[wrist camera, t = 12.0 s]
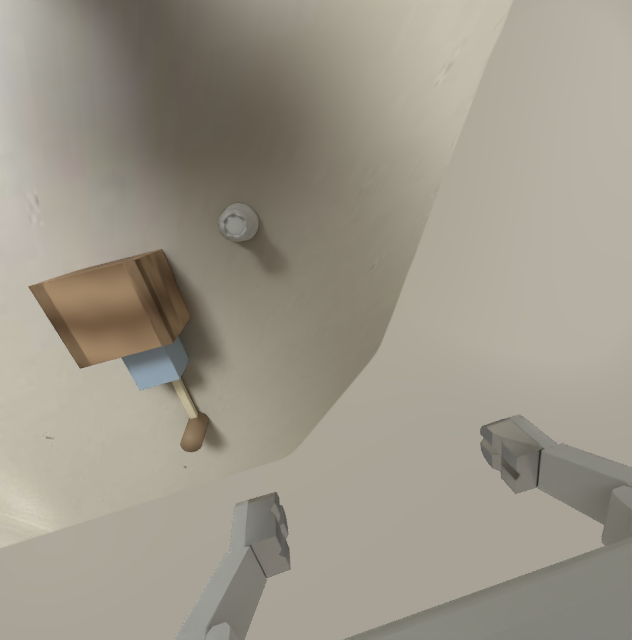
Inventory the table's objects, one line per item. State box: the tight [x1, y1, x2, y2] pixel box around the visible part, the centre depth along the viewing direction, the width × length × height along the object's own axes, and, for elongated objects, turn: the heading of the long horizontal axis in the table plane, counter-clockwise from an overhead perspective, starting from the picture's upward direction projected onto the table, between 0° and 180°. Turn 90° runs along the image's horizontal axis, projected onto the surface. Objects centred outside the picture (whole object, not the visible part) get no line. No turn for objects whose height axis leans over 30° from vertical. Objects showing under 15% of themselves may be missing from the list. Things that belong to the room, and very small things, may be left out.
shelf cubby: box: [28, 249, 191, 368], centre depth 33 cm, size 9×10×8 cm
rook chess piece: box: [219, 203, 259, 242], centre depth 32 cm, size 4×4×8 cm
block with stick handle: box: [121, 336, 208, 452], centre depth 40 cm, size 16×5×5 cm, turn 13°
